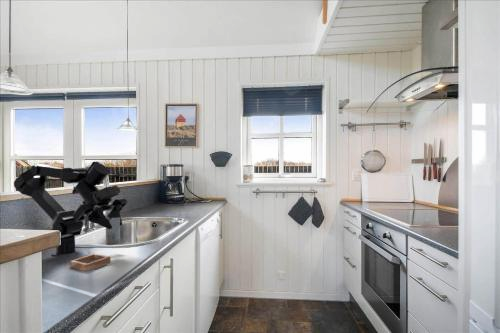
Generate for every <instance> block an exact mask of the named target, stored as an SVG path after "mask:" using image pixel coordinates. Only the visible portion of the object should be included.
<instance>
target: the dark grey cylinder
mask: <svg viewBox="0 0 500 333" xmlns="http://www.w3.org/2000/svg"><path fill="white" fill-rule="evenodd" d="M106 218H107V220H108V221H109V223H110V224H111V226H112V228H111V229H108V228H105V245H106V246H115V245H119V244H121V226H120V217H110V218H108V217H106Z"/></svg>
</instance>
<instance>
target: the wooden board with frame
mask: <svg viewBox="0 0 500 333" xmlns="http://www.w3.org/2000/svg"><path fill="white" fill-rule="evenodd" d="M125 256H126V255H125V254H121V253H112V254H109V255H104V254H100V253H99V254H98V253H92V254H88V255H85V256H82V257H78V258H75V259H73V260H70V261H69V268H70V269H75V270H80V271H82V272H83V271H84V272H88V271H91V270H99V269H102V268H105V267H107V266H108V264H110V263H111V261H114V260H117V259H120V258H123V257H125Z"/></svg>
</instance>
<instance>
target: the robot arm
mask: <svg viewBox="0 0 500 333" xmlns="http://www.w3.org/2000/svg"><path fill="white" fill-rule="evenodd" d="M110 173H111V170H110V168H109V167H108V166H106V165H104V164H102V163H100V162H99V161H92V163H91V164H90V166H89V167H88V168H86V167H60V166H52V165H47V164H34V165H32V166H31V167H30V168H29V169H28V170H26V171H24V172H22V173H20V174H19V175H18V176H17V177H16V178H15V180H14V182H13V187H14V189H15V190H16V191H17V192H18V193H20V194H21V195H24V196H26V197H27V196H28V197H31V198H32V200H34V202H35V203H36V204H37V205H38V206H39V207H40V208H41V209H42V210H43V211H44V212H45V213H46V214H47V215H48V217H49V218H50V219H51V220H52V224H51V225H52V227H51V228H52V229H51V230H59V231H60V232H61V245H60V246H59V247H57V248H56V247H55V252H51V256H55V257H56V256H60V255H64V254H65V255H70V254H72V253H75V252H76V237H77V236H80V235H81V232H82V230H83V226H84V221H85V219H86V222H91V223H93V224H97V225H99V226H100V227H104V228H105V229H106V228H108V229H111V228H112V226H111V224H110V223H109V221H108V220H107V218H110V217H120V227H121V226H123V220H122V217H121V212H122V210H123V209H124V208H125V207H126V206H127V204H128V201H127V199H126V198H125V197H124V198H123V197H122V198H116V199H114V200H113V199H112V198H114V197H115V196H119V194H120V192H121V189H120V187H118V185H117V184H116V185H112V186H106V187H104V188H102V189H99V188H98V187H97V186H100V185H102V184H103V182H104V181H105V180H106V178H107V177H108V176H109V175H110ZM48 178H56V179H60V181H61V182H63V183H66V184H76V185H75V186H73V187H72V188H73V190H72V192H71V194H72V195H77V194H78V195H79V196H80V197H81V198H82V200H83V201H82V204H80V205H79V206H78V207H77V208H76V209H75V210H73V209H72V210H65V209H64V208H63V206H62V205H61V204H60V203H59V202H57V200H56V199H55V198H54V197H53V196H52V195H51V194H50V193H49V192H48V191H47V190H46V189H45V187H46V183H47V182H48ZM111 201H113V202H112V203H110V202H111ZM104 212H107V213H108V214H107V216H105V214H104ZM86 215H87V218H86ZM75 236H76V237H75Z"/></svg>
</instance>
